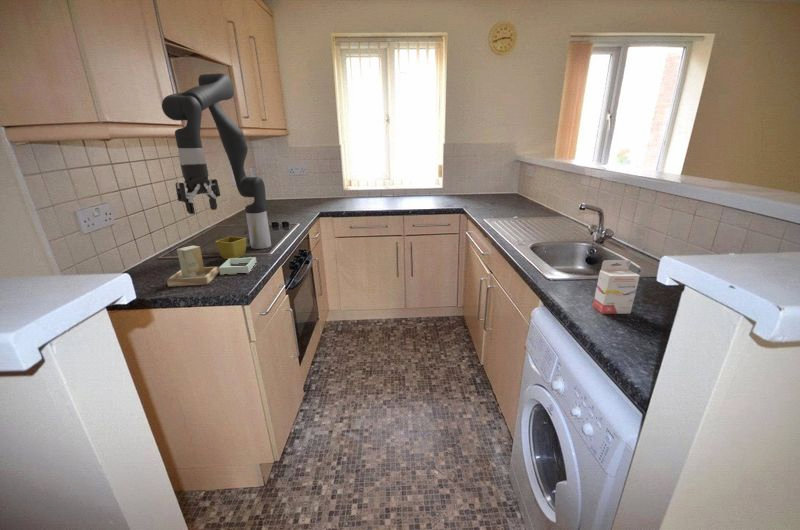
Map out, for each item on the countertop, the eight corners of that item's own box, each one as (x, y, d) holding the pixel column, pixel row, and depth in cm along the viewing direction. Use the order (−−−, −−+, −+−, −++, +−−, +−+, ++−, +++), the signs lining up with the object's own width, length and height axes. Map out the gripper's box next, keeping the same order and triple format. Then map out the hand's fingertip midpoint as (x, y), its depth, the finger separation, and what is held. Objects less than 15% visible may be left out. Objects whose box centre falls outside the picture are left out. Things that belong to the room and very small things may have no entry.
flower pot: (249, 257, 152) (246, 237, 149) (235, 263, 144) (232, 242, 141) (233, 255, 154) (229, 236, 151) (218, 261, 146) (214, 241, 143)
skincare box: (190, 283, 123) (183, 250, 119) (183, 281, 125) (175, 249, 121) (207, 277, 128) (200, 246, 124) (199, 275, 130) (192, 244, 126)
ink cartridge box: (602, 314, 96) (611, 265, 92) (592, 306, 101) (601, 259, 96) (631, 313, 97) (643, 264, 92) (620, 306, 101) (630, 259, 96)
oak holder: (183, 274, 131) (182, 268, 130) (219, 272, 133) (218, 266, 132) (168, 286, 120) (166, 279, 119) (207, 284, 122) (206, 277, 121)
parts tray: (229, 265, 141) (228, 258, 140) (256, 263, 143) (255, 257, 142) (220, 274, 130) (218, 267, 130) (249, 273, 132) (247, 266, 131)
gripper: (204, 161, 120) (213, 207, 125) (164, 163, 108) (176, 214, 113) (219, 161, 117) (228, 208, 123) (180, 163, 105) (191, 216, 110)
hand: (203, 211), depth 118 cm, fingers open, 8 cm apart
